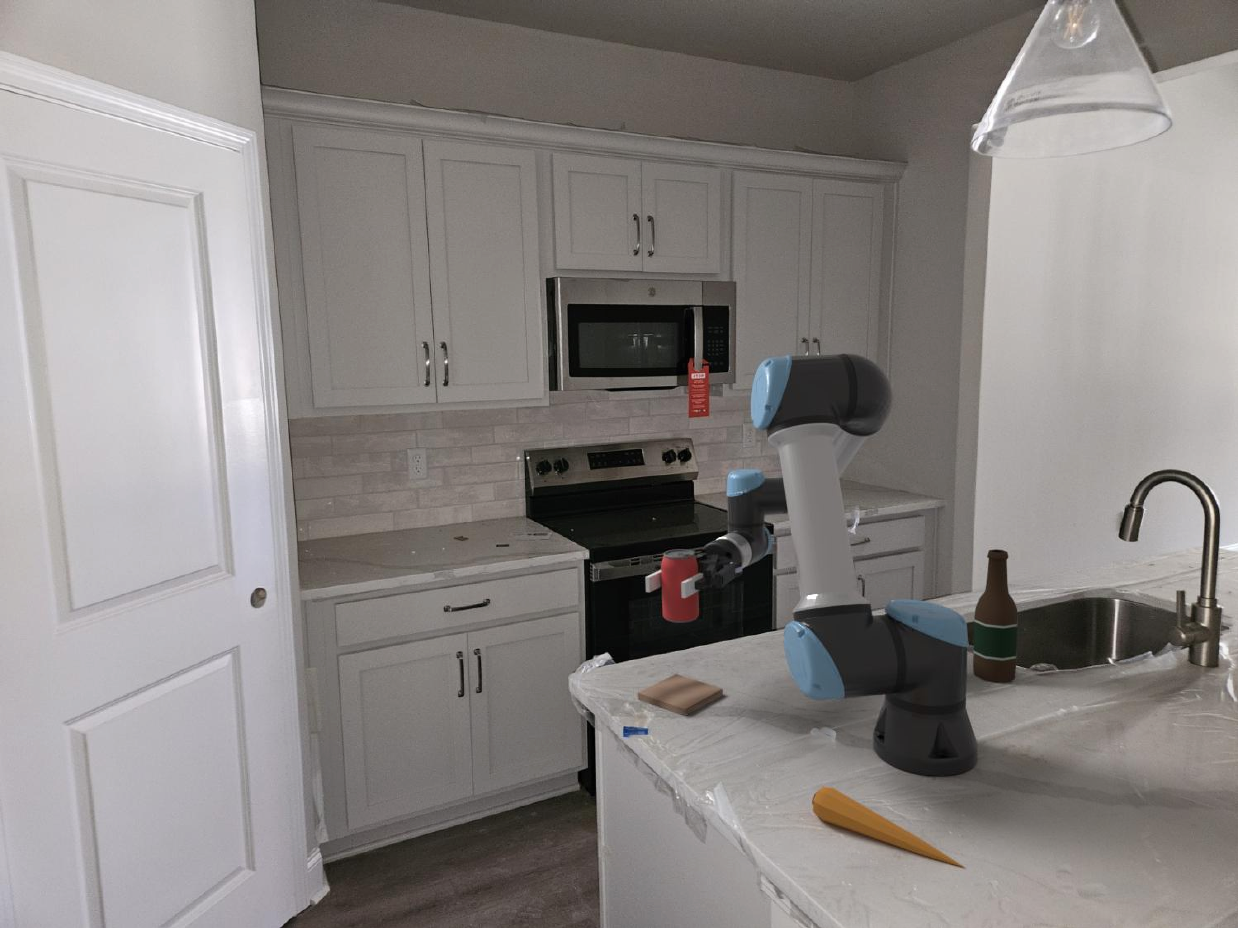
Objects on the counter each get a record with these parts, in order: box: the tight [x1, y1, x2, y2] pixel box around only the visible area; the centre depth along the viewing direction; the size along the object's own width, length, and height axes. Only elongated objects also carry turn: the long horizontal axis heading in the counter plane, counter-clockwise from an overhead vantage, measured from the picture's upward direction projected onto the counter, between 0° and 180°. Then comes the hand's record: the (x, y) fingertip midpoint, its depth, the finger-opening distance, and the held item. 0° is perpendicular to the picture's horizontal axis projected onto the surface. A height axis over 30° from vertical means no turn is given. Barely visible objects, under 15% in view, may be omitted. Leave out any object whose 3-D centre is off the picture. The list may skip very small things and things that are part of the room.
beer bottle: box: [972, 548, 1019, 684], centre depth 152 cm, size 8×8×24 cm
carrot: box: [811, 786, 966, 869], centre depth 105 cm, size 20×4×4 cm, turn 50°
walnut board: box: [637, 673, 724, 716], centre depth 150 cm, size 11×11×1 cm
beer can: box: [660, 548, 700, 624], centre depth 147 cm, size 7×7×12 cm
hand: (665, 587), depth 143 cm, fingers closed on beer can, 6 cm apart
